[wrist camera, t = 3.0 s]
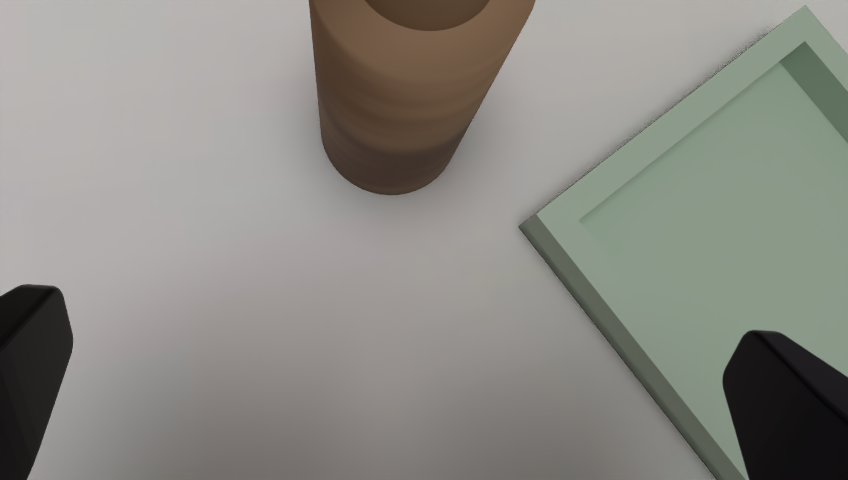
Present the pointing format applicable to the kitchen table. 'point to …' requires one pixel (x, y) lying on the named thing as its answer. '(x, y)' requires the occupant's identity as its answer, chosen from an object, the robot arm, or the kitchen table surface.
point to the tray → (718, 230)
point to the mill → (405, 81)
